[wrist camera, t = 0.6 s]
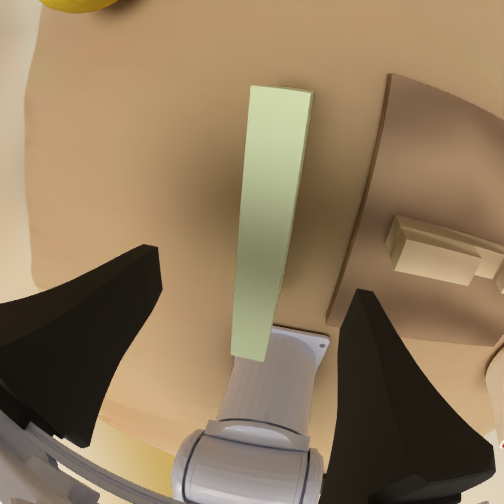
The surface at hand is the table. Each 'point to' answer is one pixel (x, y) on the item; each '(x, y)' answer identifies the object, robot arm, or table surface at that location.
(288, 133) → the slotted plate
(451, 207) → the base
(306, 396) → the robot arm
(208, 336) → the table surface
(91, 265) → the table surface
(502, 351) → the cup
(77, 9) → the lemon
